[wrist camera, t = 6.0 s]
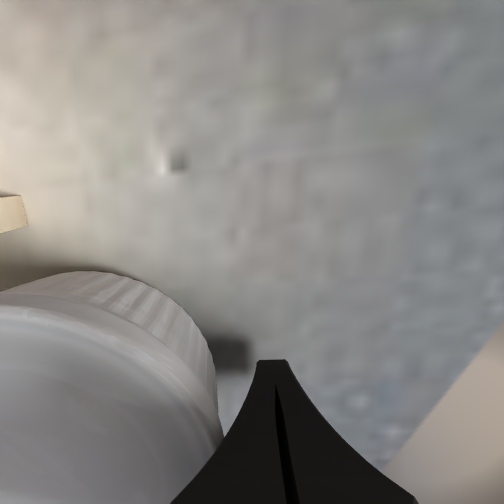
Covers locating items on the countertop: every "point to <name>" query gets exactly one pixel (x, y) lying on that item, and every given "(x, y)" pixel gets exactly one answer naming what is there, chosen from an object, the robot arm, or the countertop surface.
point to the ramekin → (101, 393)
